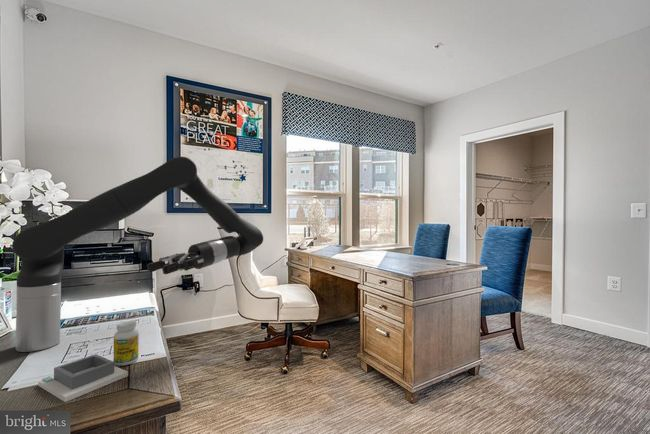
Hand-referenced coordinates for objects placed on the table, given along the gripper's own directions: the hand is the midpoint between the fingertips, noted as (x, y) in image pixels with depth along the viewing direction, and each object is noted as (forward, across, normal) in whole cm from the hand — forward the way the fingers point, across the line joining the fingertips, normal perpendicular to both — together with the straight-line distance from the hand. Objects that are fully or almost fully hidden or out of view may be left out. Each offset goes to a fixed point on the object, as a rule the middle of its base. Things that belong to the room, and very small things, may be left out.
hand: (155, 269), depth 85 cm
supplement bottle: (+11, -1, +21) cm, 24 cm away
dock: (+20, +2, +19) cm, 28 cm away
